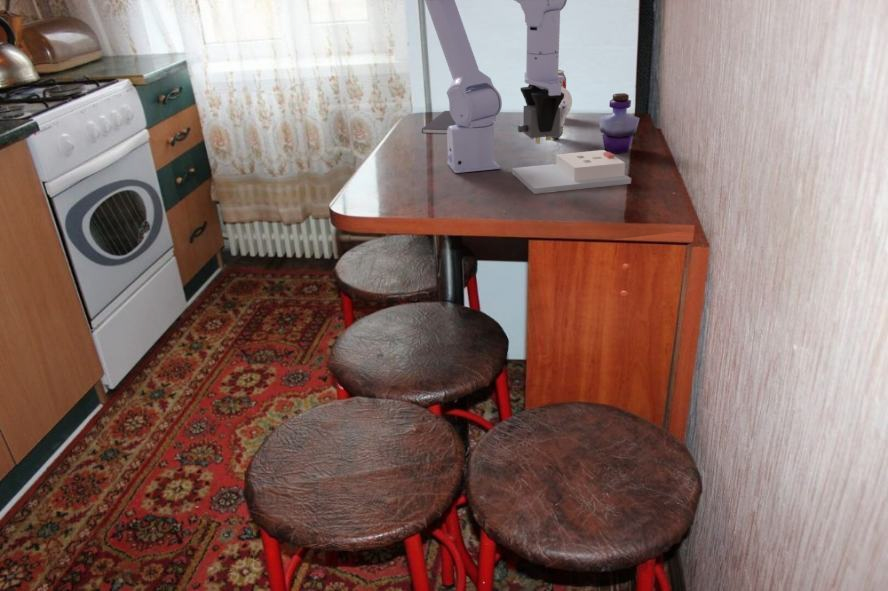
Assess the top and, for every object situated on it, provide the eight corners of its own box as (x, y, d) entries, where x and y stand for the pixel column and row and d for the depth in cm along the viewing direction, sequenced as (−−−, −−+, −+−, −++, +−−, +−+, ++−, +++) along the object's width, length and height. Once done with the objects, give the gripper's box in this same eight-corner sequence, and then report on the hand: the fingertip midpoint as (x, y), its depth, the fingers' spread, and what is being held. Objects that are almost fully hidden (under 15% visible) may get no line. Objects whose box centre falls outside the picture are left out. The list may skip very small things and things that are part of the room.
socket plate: (555, 166, 143) (556, 151, 142) (603, 162, 145) (603, 146, 144) (574, 180, 135) (574, 164, 133) (624, 175, 136) (625, 159, 135)
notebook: (445, 116, 197) (422, 135, 178) (444, 110, 196) (421, 128, 178) (490, 117, 193) (471, 136, 175) (490, 111, 193) (471, 129, 174)
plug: (515, 139, 136) (515, 106, 134) (550, 136, 138) (551, 103, 135) (522, 145, 132) (522, 111, 130) (558, 141, 134) (560, 108, 131)
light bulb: (576, 140, 166) (578, 86, 160) (549, 144, 163) (551, 90, 158) (561, 134, 171) (562, 82, 166) (535, 137, 169) (536, 85, 164)
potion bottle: (645, 149, 156) (650, 93, 151) (620, 157, 151) (624, 99, 146) (614, 143, 162) (617, 88, 157) (588, 150, 157) (591, 94, 152)
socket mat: (534, 193, 132) (534, 188, 131) (512, 173, 144) (512, 168, 144) (630, 183, 135) (631, 178, 135) (601, 164, 147) (601, 159, 147)
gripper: (579, 55, 122) (575, 135, 128) (550, 45, 135) (548, 118, 141) (539, 58, 121) (537, 138, 127) (514, 48, 134) (513, 121, 140)
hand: (541, 128), depth 134 cm, fingers closed on plug, 4 cm apart
